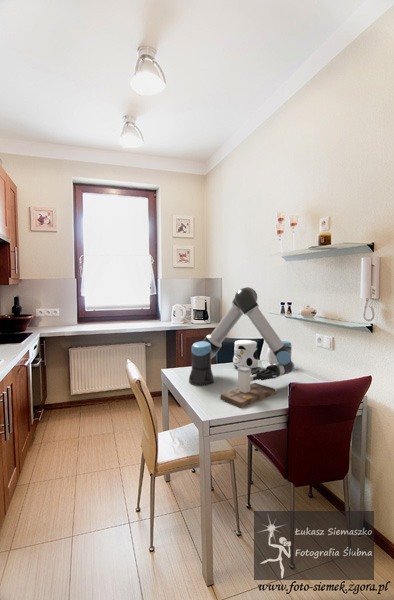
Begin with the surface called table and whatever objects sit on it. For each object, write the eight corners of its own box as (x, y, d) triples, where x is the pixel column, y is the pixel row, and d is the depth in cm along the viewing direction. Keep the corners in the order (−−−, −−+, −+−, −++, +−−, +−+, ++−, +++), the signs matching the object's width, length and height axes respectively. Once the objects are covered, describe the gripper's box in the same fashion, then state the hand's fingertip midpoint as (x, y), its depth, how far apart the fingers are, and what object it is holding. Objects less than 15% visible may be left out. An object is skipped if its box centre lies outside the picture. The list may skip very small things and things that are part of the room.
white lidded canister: (243, 388, 171) (243, 366, 171) (251, 391, 167) (251, 369, 166) (237, 390, 168) (237, 368, 168) (245, 393, 164) (245, 370, 163)
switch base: (255, 387, 182) (255, 382, 182) (275, 393, 172) (275, 389, 172) (220, 399, 164) (220, 394, 164) (240, 407, 154) (240, 402, 154)
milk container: (228, 368, 219) (228, 342, 218) (240, 362, 234) (240, 338, 232) (251, 372, 210) (251, 345, 208) (262, 366, 224) (262, 341, 222)
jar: (279, 368, 218) (279, 347, 217) (265, 366, 224) (265, 345, 223) (284, 365, 227) (284, 344, 226) (270, 363, 233) (270, 342, 232)
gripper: (284, 379, 179) (257, 389, 164) (265, 374, 189) (238, 383, 174) (284, 366, 178) (257, 375, 163) (265, 362, 188) (238, 369, 173)
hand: (247, 379), depth 168 cm, fingers closed
